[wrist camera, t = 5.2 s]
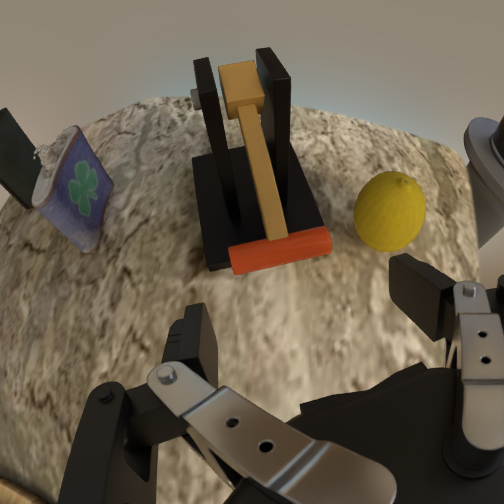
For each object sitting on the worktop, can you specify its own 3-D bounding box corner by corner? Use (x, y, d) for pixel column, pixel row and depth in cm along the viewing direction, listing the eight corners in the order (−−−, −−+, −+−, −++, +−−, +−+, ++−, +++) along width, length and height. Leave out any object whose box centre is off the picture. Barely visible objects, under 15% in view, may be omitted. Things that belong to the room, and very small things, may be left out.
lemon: (334, 221, 26) (352, 160, 18) (384, 204, 26) (411, 145, 19) (363, 276, 23) (397, 228, 16) (413, 254, 24) (455, 204, 16)
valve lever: (324, 253, 17) (336, 253, 15) (235, 274, 17) (233, 277, 15) (276, 76, 18) (279, 56, 15) (196, 91, 17) (191, 71, 15)
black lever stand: (327, 245, 25) (365, 114, 12) (209, 272, 24) (149, 153, 12) (288, 145, 30) (289, 25, 17) (194, 165, 30) (156, 49, 17)
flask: (99, 254, 26) (32, 190, 16) (76, 256, 26) (9, 196, 16) (118, 178, 30) (74, 107, 20) (97, 182, 30) (51, 115, 20)
